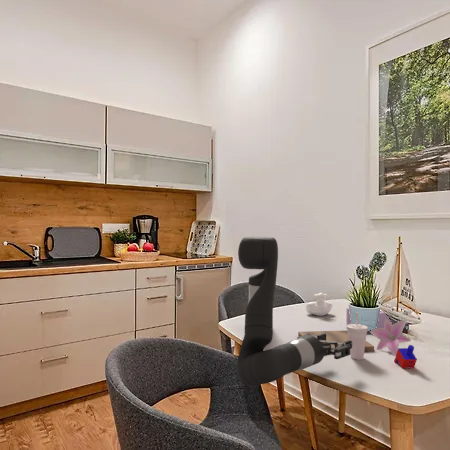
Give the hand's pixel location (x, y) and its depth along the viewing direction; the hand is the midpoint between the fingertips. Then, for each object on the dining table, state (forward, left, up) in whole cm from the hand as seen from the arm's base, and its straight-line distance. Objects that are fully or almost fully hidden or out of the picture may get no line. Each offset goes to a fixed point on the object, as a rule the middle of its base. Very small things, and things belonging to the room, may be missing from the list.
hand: (337, 340), depth 112 cm
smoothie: (+9, +6, -8) cm, 13 cm away
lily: (+22, +12, -8) cm, 26 cm away
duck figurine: (+15, +58, -8) cm, 60 cm away
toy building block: (+20, -2, -8) cm, 21 cm away
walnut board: (+7, +20, -8) cm, 22 cm away
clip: (+30, +38, -8) cm, 49 cm away
